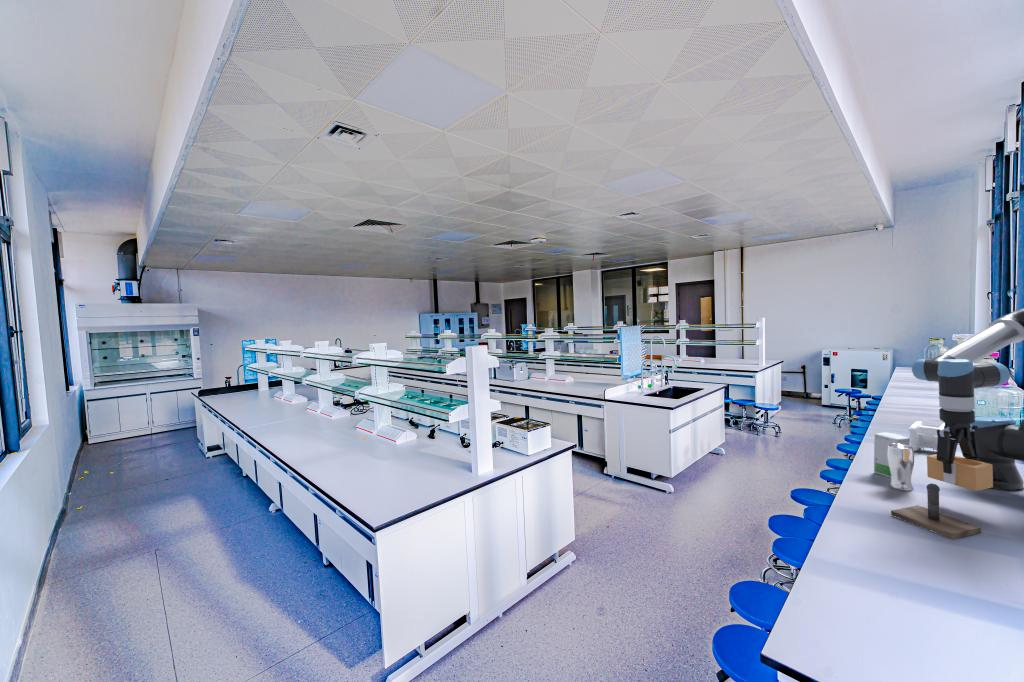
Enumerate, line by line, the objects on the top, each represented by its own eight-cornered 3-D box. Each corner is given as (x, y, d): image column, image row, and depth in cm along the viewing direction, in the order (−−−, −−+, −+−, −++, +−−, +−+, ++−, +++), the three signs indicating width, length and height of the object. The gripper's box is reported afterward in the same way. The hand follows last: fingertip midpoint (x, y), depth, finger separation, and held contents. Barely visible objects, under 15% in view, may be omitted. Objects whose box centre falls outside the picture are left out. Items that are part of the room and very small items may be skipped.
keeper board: (917, 509, 130) (916, 472, 130) (980, 532, 116) (980, 490, 115) (891, 515, 128) (890, 477, 127) (952, 539, 113) (951, 496, 113)
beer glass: (893, 490, 144) (892, 448, 144) (884, 482, 151) (883, 442, 150) (919, 492, 142) (918, 449, 141) (908, 484, 148) (907, 443, 148)
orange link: (927, 477, 134) (926, 456, 134) (943, 473, 136) (942, 452, 135) (976, 491, 122) (975, 468, 122) (993, 487, 124) (992, 464, 124)
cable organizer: (943, 457, 171) (942, 430, 171) (908, 452, 180) (908, 426, 179) (949, 449, 180) (949, 423, 180) (916, 444, 189) (915, 419, 188)
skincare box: (873, 472, 160) (872, 433, 160) (885, 470, 162) (885, 431, 161) (898, 480, 152) (897, 439, 152) (911, 477, 154) (910, 436, 153)
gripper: (964, 402, 134) (966, 472, 135) (918, 410, 129) (920, 482, 130) (995, 407, 126) (997, 480, 128) (948, 415, 122) (950, 491, 123)
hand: (959, 480), depth 129 cm, fingers closed on orange link, 7 cm apart
